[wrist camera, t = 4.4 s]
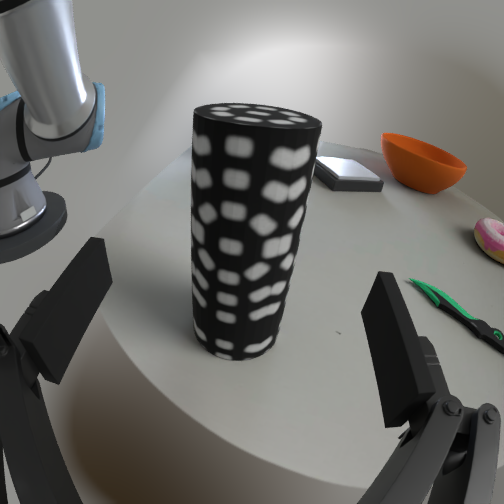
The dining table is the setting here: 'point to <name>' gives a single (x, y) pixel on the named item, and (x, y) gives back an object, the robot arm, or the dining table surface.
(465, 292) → the dining table surface
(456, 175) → the bowl
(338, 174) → the scale
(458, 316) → the knife
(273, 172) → the white-spotted black cylinder
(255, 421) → the dining table surface
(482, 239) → the donut
